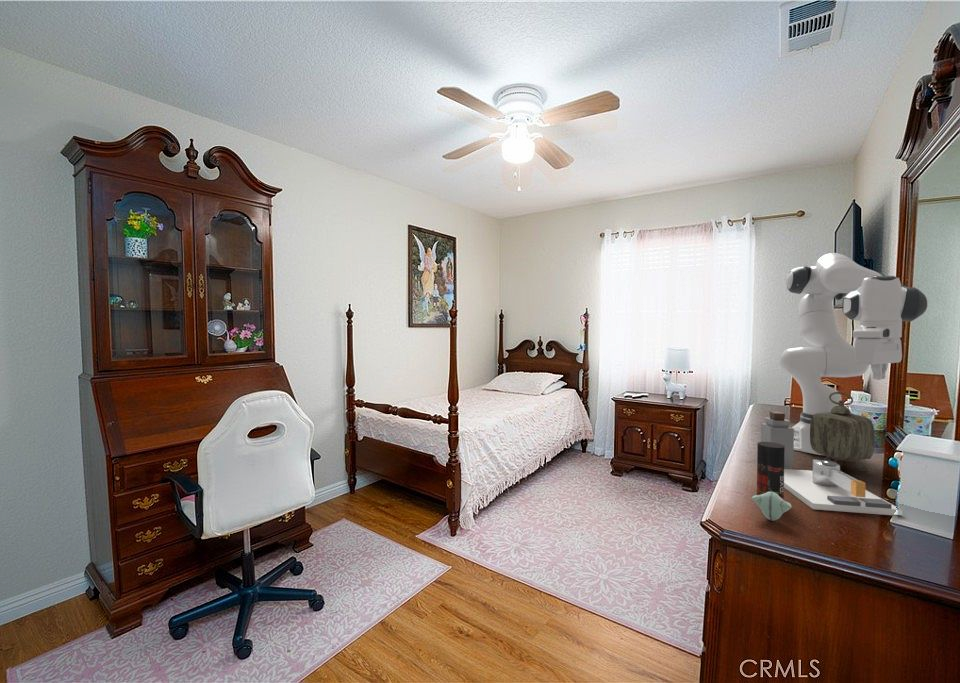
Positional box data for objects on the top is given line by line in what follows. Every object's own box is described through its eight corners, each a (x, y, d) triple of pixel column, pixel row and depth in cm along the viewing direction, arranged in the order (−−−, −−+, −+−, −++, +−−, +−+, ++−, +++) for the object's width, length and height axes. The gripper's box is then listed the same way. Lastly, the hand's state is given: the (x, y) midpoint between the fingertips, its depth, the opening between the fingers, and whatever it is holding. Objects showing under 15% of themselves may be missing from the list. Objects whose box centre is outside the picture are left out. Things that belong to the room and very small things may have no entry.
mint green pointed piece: (750, 517, 101) (750, 490, 101) (753, 512, 104) (753, 485, 104) (790, 528, 96) (791, 499, 96) (793, 522, 99) (793, 494, 99)
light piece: (804, 476, 125) (804, 454, 125) (827, 477, 123) (827, 456, 123) (846, 502, 106) (847, 477, 105) (874, 504, 104) (875, 479, 104)
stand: (763, 472, 133) (763, 464, 133) (832, 476, 129) (832, 468, 129) (812, 509, 106) (812, 499, 106) (902, 516, 102) (902, 505, 102)
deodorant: (759, 494, 116) (760, 440, 115) (785, 500, 112) (786, 444, 111) (754, 500, 112) (755, 444, 111) (781, 506, 107) (782, 449, 107)
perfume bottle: (793, 469, 136) (794, 414, 135) (770, 468, 137) (770, 414, 136) (782, 463, 142) (783, 410, 142) (760, 462, 144) (761, 410, 143)
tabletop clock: (874, 473, 132) (876, 394, 131) (854, 476, 129) (855, 396, 129) (825, 460, 146) (826, 388, 145) (806, 462, 143) (807, 389, 142)
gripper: (881, 331, 128) (880, 376, 128) (849, 331, 119) (848, 380, 119) (909, 331, 122) (908, 378, 123) (878, 331, 113) (877, 382, 113)
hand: (879, 379), depth 121 cm, fingers closed
